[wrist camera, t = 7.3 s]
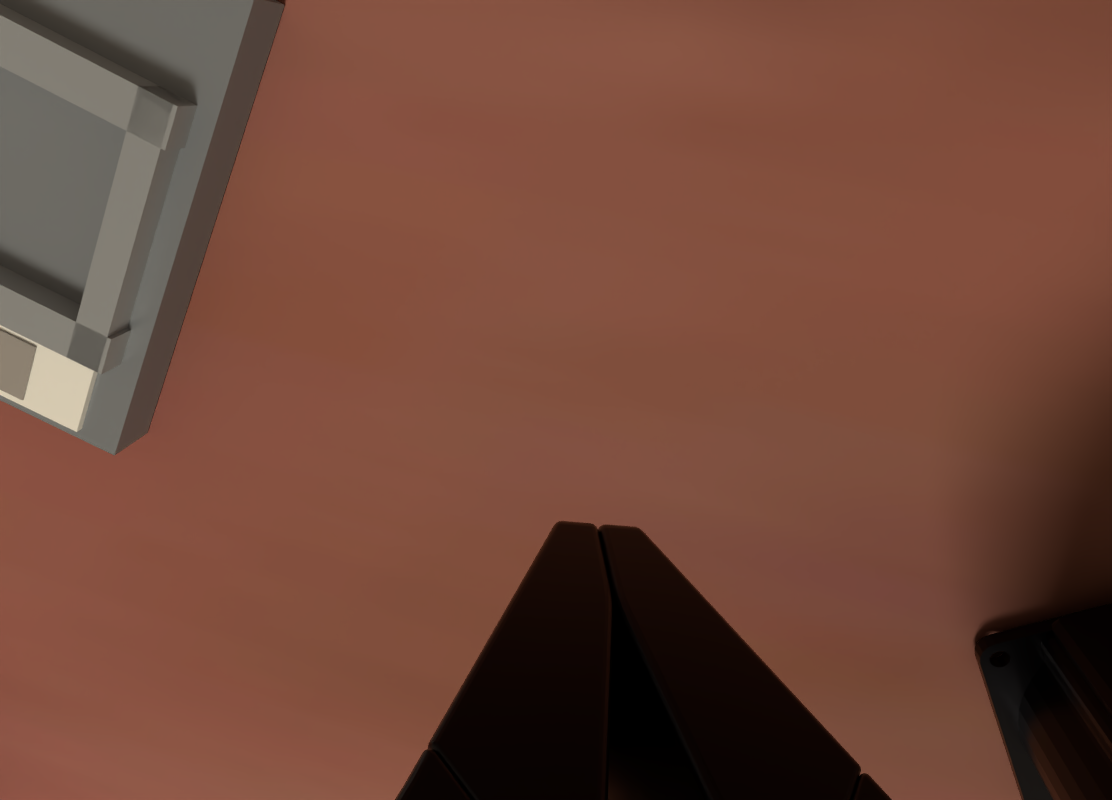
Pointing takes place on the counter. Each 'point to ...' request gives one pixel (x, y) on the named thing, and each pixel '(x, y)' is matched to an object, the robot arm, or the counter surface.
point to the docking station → (113, 193)
